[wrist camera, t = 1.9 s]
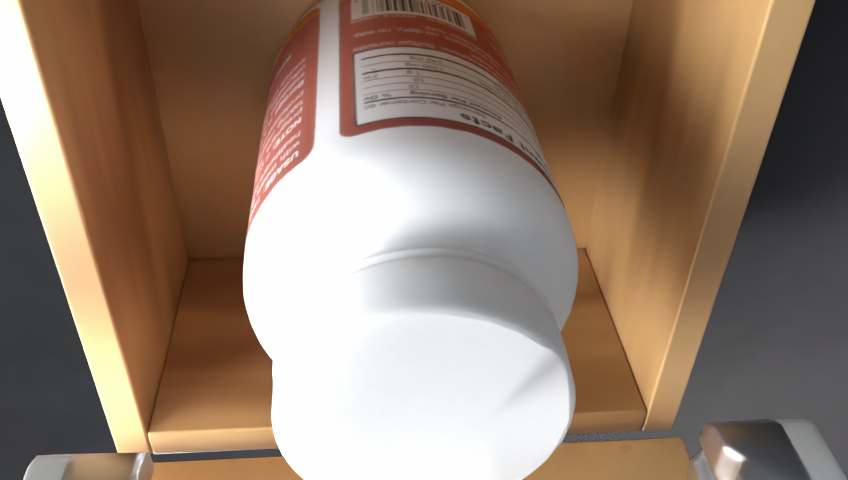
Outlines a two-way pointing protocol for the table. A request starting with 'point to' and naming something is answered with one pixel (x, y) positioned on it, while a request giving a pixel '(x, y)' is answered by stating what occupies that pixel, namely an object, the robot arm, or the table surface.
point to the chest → (237, 161)
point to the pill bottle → (407, 251)
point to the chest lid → (558, 476)
